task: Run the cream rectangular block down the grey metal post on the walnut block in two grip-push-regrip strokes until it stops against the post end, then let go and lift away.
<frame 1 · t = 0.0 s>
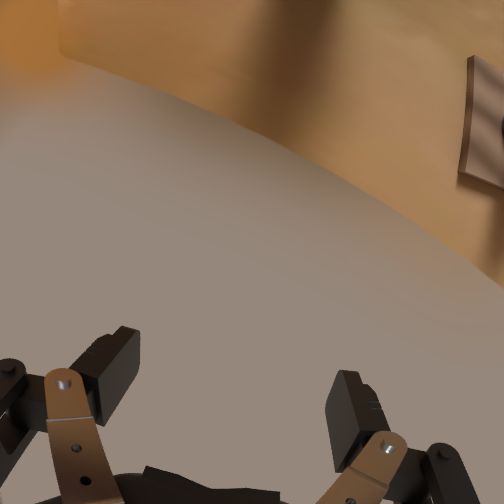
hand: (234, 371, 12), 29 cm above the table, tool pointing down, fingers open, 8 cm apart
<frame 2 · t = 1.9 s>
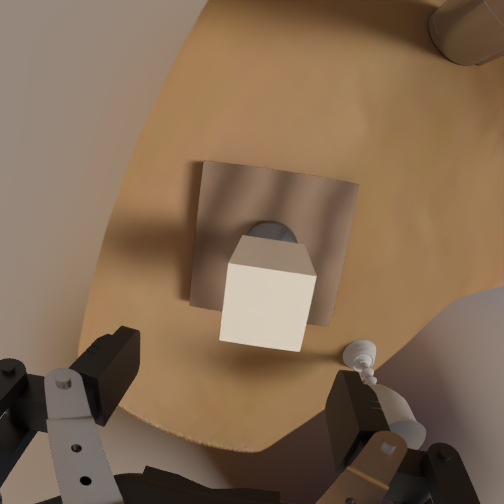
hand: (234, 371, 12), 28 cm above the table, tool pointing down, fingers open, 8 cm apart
cream rectangular block: (267, 286, 25), point 15 cm above the table, slide at 0.0 cm
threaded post: (269, 259, 33), on the walnut block, point 7 cm above the table
chalice: (359, 353, 43), on the table
walnut block: (270, 244, 40), on the table
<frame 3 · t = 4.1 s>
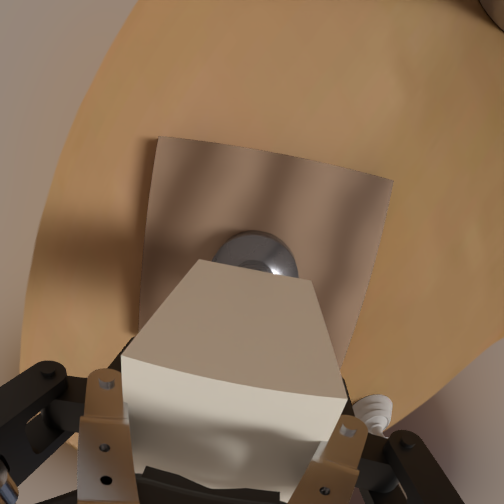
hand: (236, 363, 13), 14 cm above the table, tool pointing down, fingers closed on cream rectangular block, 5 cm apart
cream rectangular block: (235, 370, 12), point 15 cm above the table, slide at 0.0 cm, touching gripper
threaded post: (250, 296, 20), on the walnut block, point 7 cm above the table
chalice: (370, 411, 30), on the table
walnut block: (256, 264, 27), on the table
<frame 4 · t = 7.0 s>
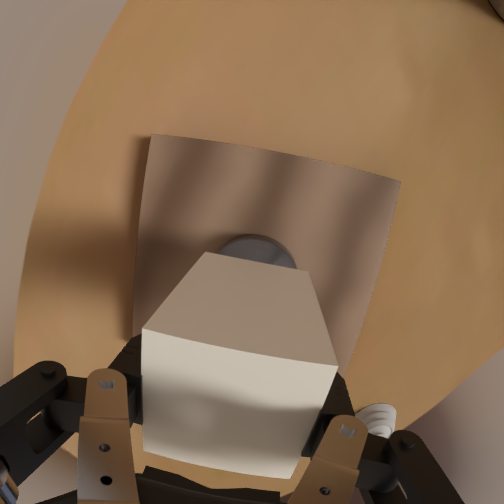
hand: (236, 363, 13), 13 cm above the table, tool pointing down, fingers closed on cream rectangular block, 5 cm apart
cream rectangular block: (239, 350, 14), point 12 cm above the table, slide at 3.0 cm, touching gripper
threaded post: (248, 305, 18), on the walnut block, point 7 cm above the table
chalice: (373, 419, 28), on the table
walnut block: (255, 270, 25), on the table
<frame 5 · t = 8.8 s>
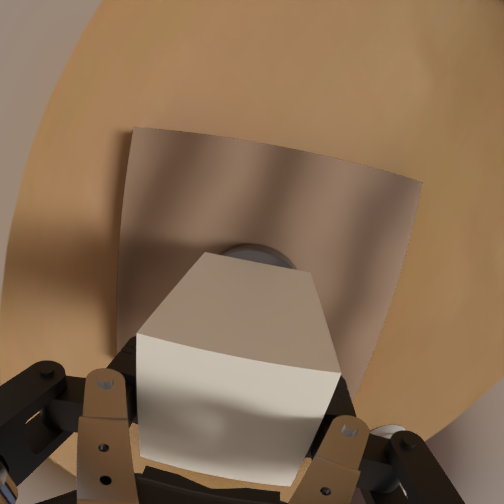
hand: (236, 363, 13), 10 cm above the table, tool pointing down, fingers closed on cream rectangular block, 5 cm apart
cream rectangular block: (239, 354, 13), point 9 cm above the table, slide at 6.0 cm, touching gripper, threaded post
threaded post: (243, 332, 15), on the walnut block, point 7 cm above the table
walnut block: (253, 283, 22), on the table
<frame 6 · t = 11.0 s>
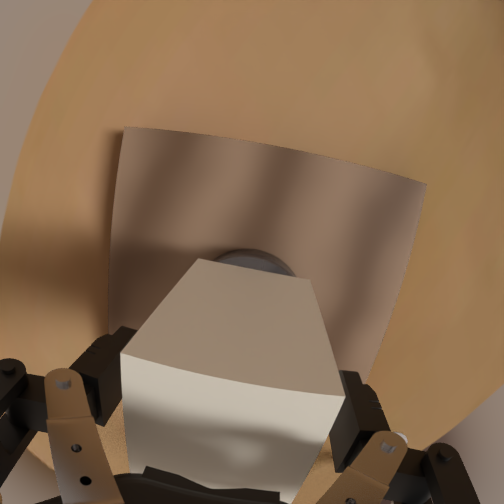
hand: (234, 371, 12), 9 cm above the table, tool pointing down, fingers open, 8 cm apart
cream rectangular block: (234, 368, 12), point 9 cm above the table, slide at 6.0 cm, touching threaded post
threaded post: (239, 343, 14), on the walnut block, point 7 cm above the table
walnut block: (250, 289, 21), on the table
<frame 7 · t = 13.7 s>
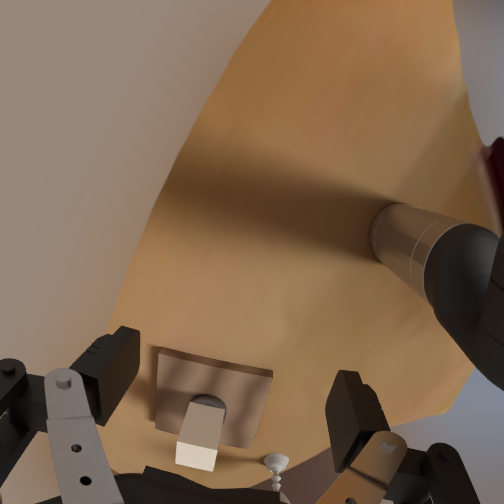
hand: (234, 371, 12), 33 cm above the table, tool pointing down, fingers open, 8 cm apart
cream rectangular block: (200, 436, 42), point 9 cm above the table, slide at 6.0 cm, touching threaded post
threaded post: (202, 427, 44), on the walnut block, point 7 cm above the table
chalice: (276, 460, 55), on the table
walnut block: (209, 400, 51), on the table
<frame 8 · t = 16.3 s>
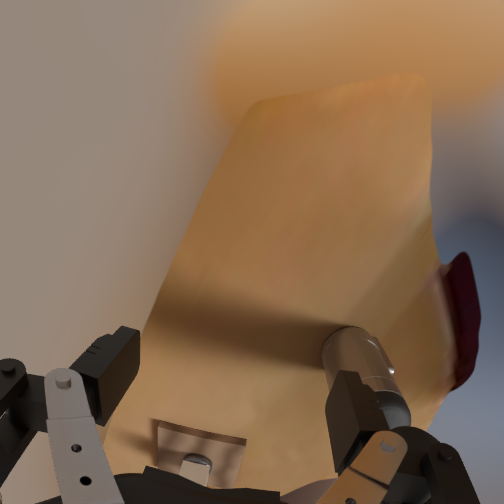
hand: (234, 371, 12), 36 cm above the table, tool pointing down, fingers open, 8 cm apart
cream rectangular block: (191, 485, 51), point 9 cm above the table, slide at 6.0 cm, touching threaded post
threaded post: (193, 478, 53), on the walnut block, point 7 cm above the table
walnut block: (199, 455, 60), on the table
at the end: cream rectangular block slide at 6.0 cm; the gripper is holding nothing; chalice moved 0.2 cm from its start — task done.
